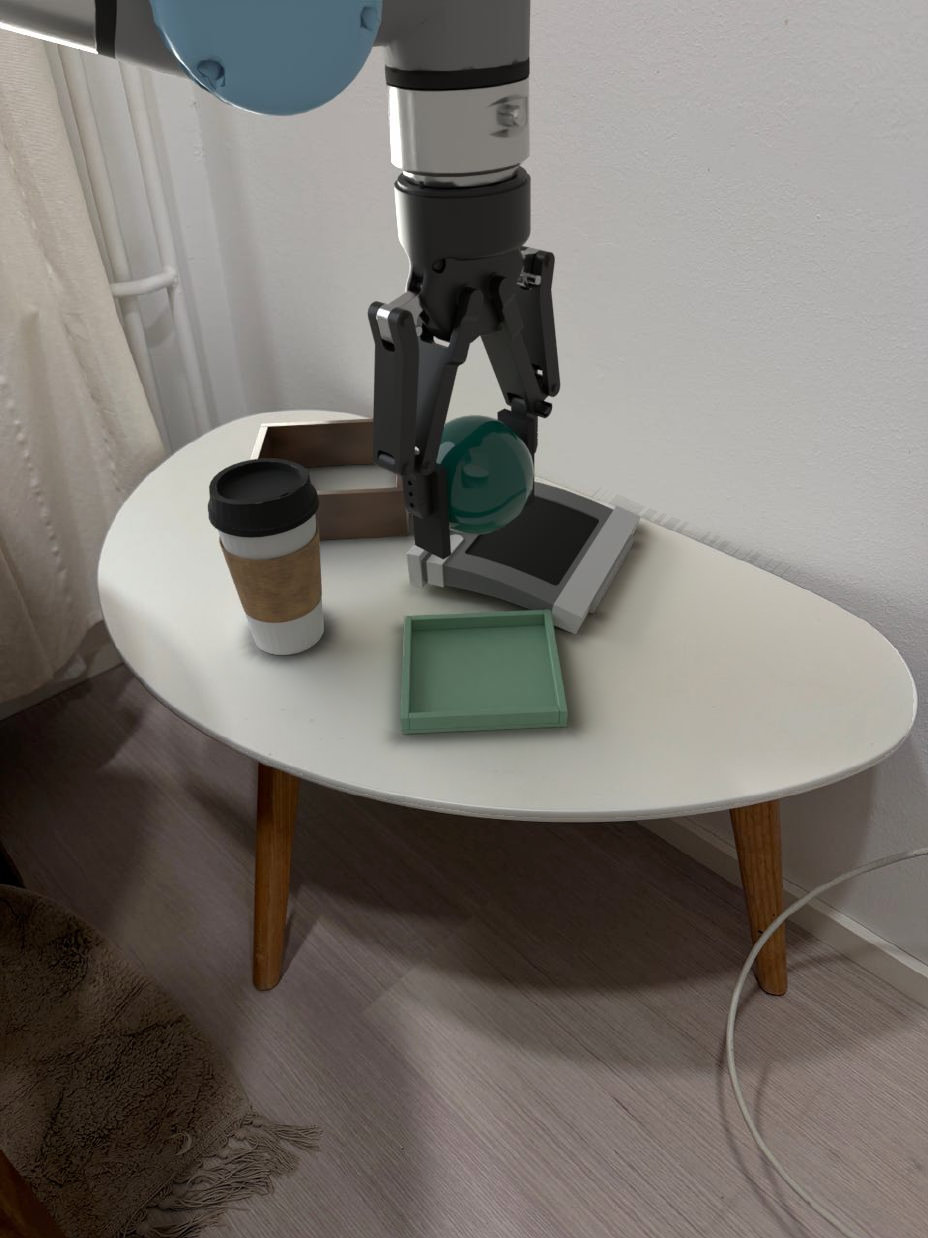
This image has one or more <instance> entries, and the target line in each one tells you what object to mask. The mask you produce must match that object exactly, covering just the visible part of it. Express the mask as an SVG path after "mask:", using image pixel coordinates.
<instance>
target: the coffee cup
mask: <svg viewBox="0 0 928 1238" xmlns="http://www.w3.org/2000/svg"><path fill="white" fill-rule="evenodd" d="M310 477H311V476H310V474H309V470H308V469H307V468H306V467H303V466H301V465H300V464H297V463H295V462H291V461H288V460H283V459H274V458H261V459H253V460H250V459H248V460H247V459H246V460H243V461H240V462H237V463H233V464H231V465H229V466H227V467H225V468H223V469H222V470H220V471H218V472H217V473H216V474H215V475H214V476H213V477H212V478H211V480H210V482H209V485H208V492H209V499H208V502H207V512H208V520H209V523H210V524H211V525H212V526H213V527H214V529H216V530H217V532H218V535H219V536H218V541H219V542H218V543H219V546H220V548H221V551H222V554H223V557H224V560H225V562H226V565H227V568H228V571H229V574H230V576H231V578H232V582H233V584H234V587H235V590H236V593H237V596H238V598H239V601H240V603H241V607H242V609H243V611H244V614H245V616H246V620H247V624H248V626H249V629H250V632H251V636H252V638H253V640H254V643H255V645H256V646H257V647H258V649H260V650H261V651H263V652H265V653H267V654H271V655H276V656H290V655H295V654H299V653H302V652H304V651H307V650H309V649H310V648H312V647H314V646H315V645H316V644H317V643H318V642H319V641H320V639H321V638H322V637H323V634H324V630H325V624H324V623H325V622H324V609H323V588H322V587H323V586H322V566H321V565H322V564H321V545H320V544H321V543H320V542H321V540H319V526H318V522H317V520H316V516H315V513H316V511H317V509H318V508H319V497H318V495H317V491H318V490H317V489H316V487H315V486H314V484H313V482H312V481H311V478H310Z"/></svg>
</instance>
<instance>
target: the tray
mask: <svg viewBox="0 0 928 1238" xmlns="http://www.w3.org/2000/svg"><path fill="white" fill-rule="evenodd" d="M403 617H404V618H403V619H404V620H403V642H402V643H403V644H402V645H403V646H402V669H401V670H402V673H401V697H400V698H401V699H400V700H401V701H400V724H401V725H400V726H401V734H402V735H410V734H411V735H412V734H414V735H415V734H434V733H435V734H436V733H437V734H438V733H455V732H456V733H457V732H458V733H459V732H479V731H502V730H520V729H543V728H544V729H545V728H560V727H561V728H564V727H568V713H569V710H568V704H567V698H566V691H565V686H564V679H563V675H562V668H561V662H560V656H559V650H558V644H557V638H556V631H555V626H554V625H553V620H552V614H551V610H548V609H547V610H530V609H526V610H505V611H487V612H486V611H485V612H463V613H461V612H460V613H444V614H442V613H441V614H421V615H420V614H419V615H405V616H403Z"/></svg>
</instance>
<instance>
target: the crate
mask: <svg viewBox="0 0 928 1238" xmlns="http://www.w3.org/2000/svg"><path fill="white" fill-rule="evenodd" d="M372 454H373V418H358V419H357V418H356V419H355V418H354V419H335V420H334V419H333V420H332V419H331V420H313V421H312V420H311V421H291V422H289V421H288V422H269V423H261V425H260V428H259V432H258V435H257V437H256V440H255V444H254V447H253V450H252V453H251V456H250V459H249V460H253V459H261V458H274V459H283V460H288V461H291V462H295V463H297V464H300V465H301V466H303V467H304V468H308V467H309V468H311V467H327V466H328V467H329V466H351V465H353V466H354V465H372V464H373V465H375V464H374V462H373V459H372ZM395 481H396V482H395V487H375V488H353V489H352V488H351V489H332V490H317V495H318V497H319V508H318V509H317V511H316V513H315V516H316V520H317V522H318V526H319V540H320V541H325V540H345V539H346V540H347V539H365V538H366V539H368V538H369V539H370V538H388V537H389V538H390V537H391V538H392V537H408V536H409V526H410V525H409V521H410V513H409V512H408V511H407V510H406V508H405V504H404V492H403V483H402V476H399V475H397V474H396V480H395Z"/></svg>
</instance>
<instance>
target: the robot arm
mask: <svg viewBox="0 0 928 1238" xmlns="http://www.w3.org/2000/svg"><path fill="white" fill-rule="evenodd" d="M0 29H3V30H7V31H11V32H15V33H18V34H21V35H26V36H30V37H33V38H37V39H41V40H45V41H48V42H52V43H56V44H60V45H64V46H68V47H71V48H75V49H80V50H82V51H86V52H90V53H93V54H97V55H100V56H102V57H106V58H109V59H110V58H111V59H113V60H116V61H118V62H121V63H124V64H126V65H130V66H132V67H133V66H134V67H137V68H140V69H144V70H148V71H151V72H155V73H158V74H163V75H166V76H170V77H174V78H178V79H181V80H185V81H189V82H193V83H194V84H195V85H197V86H198V87H200V88H201V89H202V90H204V91H206V92H208V93H209V94H211V95H212V96H213V97H214V98H216V99H218V100H219V101H220V102H222V103H224V104H226V105H229V106H232V107H235V108H238V109H240V110H243V111H246V112H248V113H249V112H250V113H253V114H256V115H261V116H268V117H291V116H296V115H300V114H305V113H308V112H311V111H314V110H316V109H318V108H320V107H322V106H324V105H326V104H327V103H329V102H331V101H332V100H334V99H335V98H336V97H337V96H339V95H340V94H341V93H343V92H345V90H346V89H347V88H348V87H349V86H350V85H351V84H352V82H353V81H354V80H355V79H356V77H357V76H358V75H359V74H360V72H361V71H362V69H363V67H364V66H365V64H366V62H367V60H368V58H369V56H370V55H371V52H372V50H373V48H377V47H381V49H382V50H381V51H382V55H383V61H384V77H385V88H386V103H387V116H388V128H389V129H388V130H389V143H390V154H391V157H390V158H391V164H393V165H394V166H395V167H396V168H397V169H398V170H400V171H402V172H401V173H400V174H399V175H398V176H397V179H396V180H394V182H393V183H394V184H393V186H394V187H393V188H394V200H395V213H396V224H397V225H396V226H397V236H398V241H399V243H400V245H401V246H402V248H403V250H404V252H405V254H406V257H407V258H408V262H409V270H408V275H407V280H406V283H405V291H404V293H402V294H401V295H400V296H398V297H397V298H395V299H394V300H392V301H390V302H389V303H386V302H381V301H377V300H375V301H372V303H371V304H369V307H368V308H367V319H368V320H367V321H368V324H369V327H370V331H371V335H372V339H373V343H374V367H373V370H374V371H373V413H372V414H373V415H372V419H373V454H372V459H373V462H374V464H373V465H376V466H378V468H379V467H380V468H382V469H384V470H386V471H388V472H390V473H392V474H395V475H396V476H397V475H399V476H402V483H403V492H404V504H405V508H406V510H407V511H408V512H409V514H411V516H412V517H411V518H412V519H411V520H412V528H413V529H412V530H413V539H414V545H416V546H417V547H419V548H421V549H423V550H425V551H427V552H429V553H431V554H433V555H435V556H437V557H439V558H441V559H443V560H444V559H445V558H447V557H448V556H450V555H451V543H450V527H449V511H448V495H447V479H446V468H444V467H441V466H439V465H437V464H436V461H437V456H438V452H439V448H440V443H441V439H442V435H443V430H444V426H445V423H446V421H447V417H448V412H449V408H450V403H451V399H452V395H453V391H454V386H455V382H456V377H457V373H458V369H459V367H460V366H461V365H464V364H465V363H466V361H467V358H468V354H469V350H470V347H471V346H470V345H471V344H472V343H473V342H475V341H476V340H477V339H478V338H479V337H480V339H481V342H482V344H483V347H484V350H485V352H486V355H487V357H488V360H489V363H490V365H491V368H492V370H493V373H494V375H495V378H496V380H497V383H498V385H499V389H500V392H501V395H502V397H503V399H504V402H505V404H506V405H507V406H509V407H510V409H507V408H503V409H501V410H499V411H497V417H496V419H497V420H500V421H502V422H504V423H505V424H507V425H508V426H510V427H511V428H512V429H514V430H515V431H516V432H517V433H518V434H519V435H520V437H521V438H522V440H523V441H524V443H525V444H526V446H527V448H528V450H529V452H530V454H531V457H532V461H533V466H534V467H535V454H536V453H537V450H538V446H539V433H538V432H539V418H542V419H548V418H549V417H550V415H551V414H552V412H553V403H552V402H549V401H546V400H547V398H548V397H551V398H556V396H557V395H558V394H559V393H560V389H561V377H560V365H559V356H558V355H559V354H558V345H557V334H556V324H555V314H554V304H553V303H554V302H553V294H552V293H553V291H552V288H553V281H554V271H555V264H556V257H555V254H554V253H553V252H551V251H547V250H543V249H539V248H534V247H529V246H525V244H526V243H527V241H528V240H529V238H530V236H531V231H532V229H531V226H532V225H531V224H532V223H531V219H532V215H531V213H532V212H531V211H532V209H531V207H532V206H531V205H532V204H531V203H532V199H531V198H532V177H531V175H530V174H529V173H528V172H527V170H526V169H525V168H524V167H523V166H521V165H523V164H524V162H526V160H527V159H528V158H529V157H530V155H531V152H530V150H531V149H530V147H531V146H530V145H531V143H530V141H531V139H530V138H531V137H530V135H531V133H530V74H531V61H530V58H531V57H530V46H531V45H530V44H531V42H530V41H531V40H530V39H531V0H0ZM435 338H436V339H437V340H440V341H443V342H446V343H448V346H447V345H443V344H440V343H438V342H437V343H436V341H435ZM539 371H541V373H539ZM416 448H417V449H416ZM534 482H535V477H534V478H533V489H532V493H531V496H530V499H529V501H528V503H527V504H526V506H527V507H528V506H529V505H531V504H532V503H534Z"/></svg>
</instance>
